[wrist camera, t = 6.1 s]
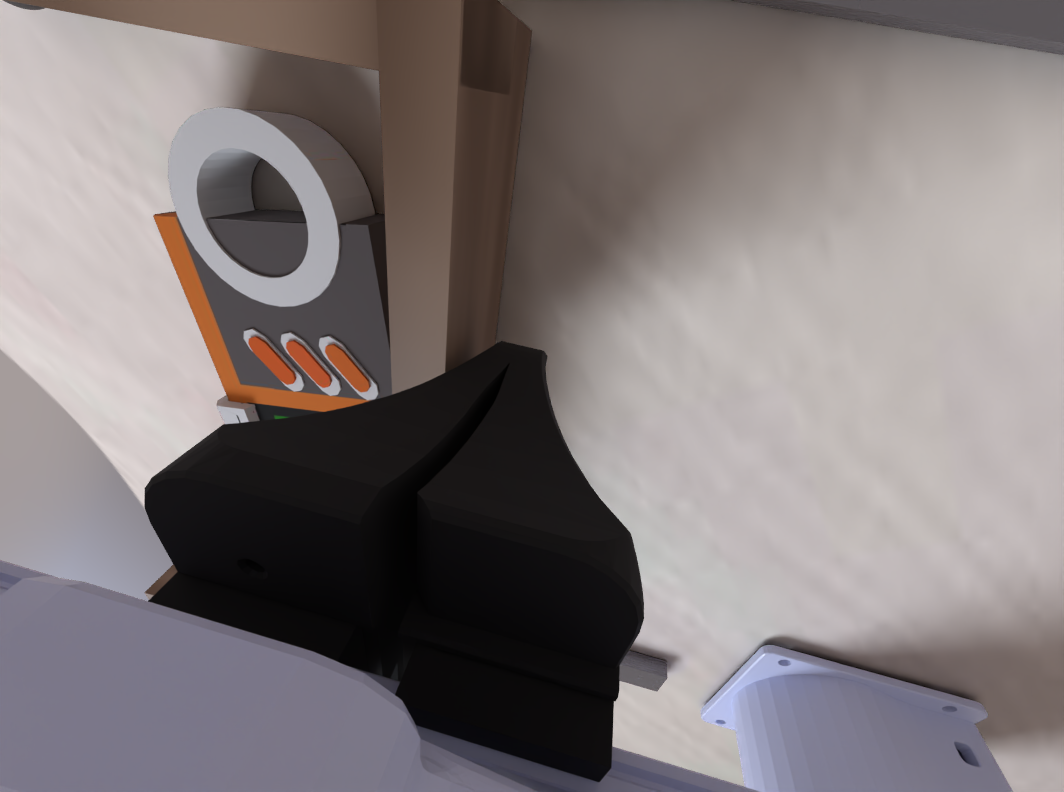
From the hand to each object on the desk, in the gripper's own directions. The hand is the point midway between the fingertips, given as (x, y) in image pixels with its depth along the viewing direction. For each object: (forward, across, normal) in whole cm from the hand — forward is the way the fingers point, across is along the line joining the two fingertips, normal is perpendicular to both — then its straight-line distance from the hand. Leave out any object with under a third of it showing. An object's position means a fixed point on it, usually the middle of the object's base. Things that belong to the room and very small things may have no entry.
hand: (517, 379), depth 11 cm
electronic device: (+3, +7, +3) cm, 8 cm away
